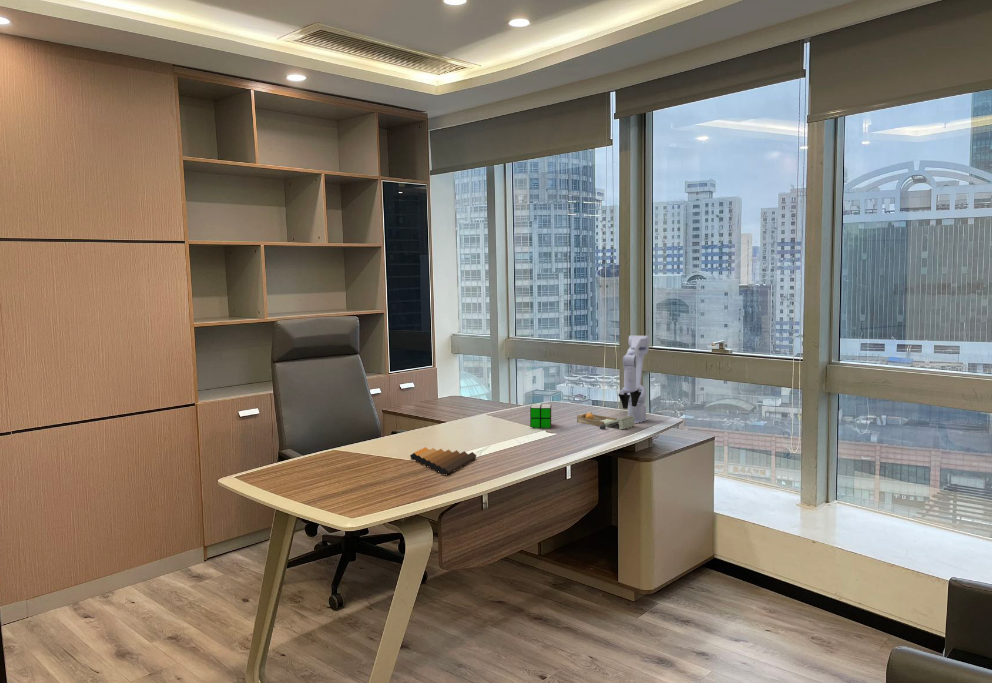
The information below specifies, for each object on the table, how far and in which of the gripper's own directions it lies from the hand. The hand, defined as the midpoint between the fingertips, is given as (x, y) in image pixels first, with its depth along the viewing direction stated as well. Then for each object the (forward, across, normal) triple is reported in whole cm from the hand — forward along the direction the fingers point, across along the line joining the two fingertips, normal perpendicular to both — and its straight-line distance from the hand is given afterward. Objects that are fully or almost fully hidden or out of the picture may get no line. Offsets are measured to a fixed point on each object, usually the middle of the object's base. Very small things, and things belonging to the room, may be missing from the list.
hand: (629, 407), depth 339 cm
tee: (+10, +11, -8) cm, 17 cm away
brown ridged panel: (+10, +107, -19) cm, 109 cm away
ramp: (+10, +2, -7) cm, 13 cm away
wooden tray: (+10, +2, -18) cm, 21 cm away
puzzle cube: (+10, +26, -34) cm, 44 cm away
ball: (+8, +2, -22) cm, 24 cm away
